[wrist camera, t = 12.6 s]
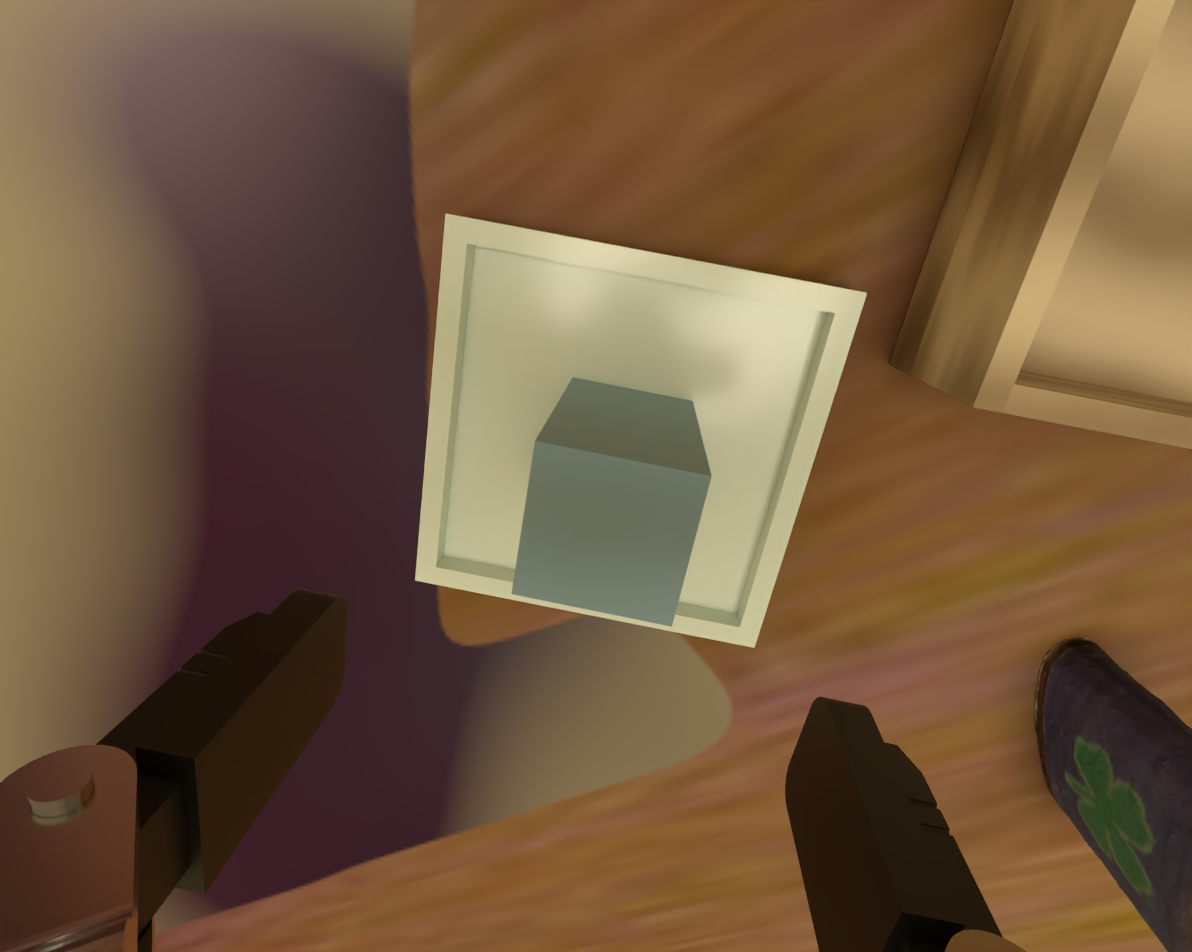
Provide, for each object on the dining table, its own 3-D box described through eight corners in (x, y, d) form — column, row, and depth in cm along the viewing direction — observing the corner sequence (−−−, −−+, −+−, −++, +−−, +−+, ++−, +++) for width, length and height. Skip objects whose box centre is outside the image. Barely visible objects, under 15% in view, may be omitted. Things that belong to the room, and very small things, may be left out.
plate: (462, 216, 23) (445, 213, 21) (849, 288, 22) (866, 293, 21) (431, 557, 28) (415, 580, 26) (747, 620, 27) (754, 647, 26)
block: (572, 377, 23) (534, 440, 16) (692, 401, 23) (711, 476, 16) (554, 488, 25) (511, 593, 17) (666, 511, 25) (671, 626, 17)
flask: (1105, 799, 29) (1342, 1091, 19) (1036, 806, 30) (1232, 1095, 20) (1107, 630, 26) (1387, 870, 16) (1030, 641, 27) (1256, 881, 17)
